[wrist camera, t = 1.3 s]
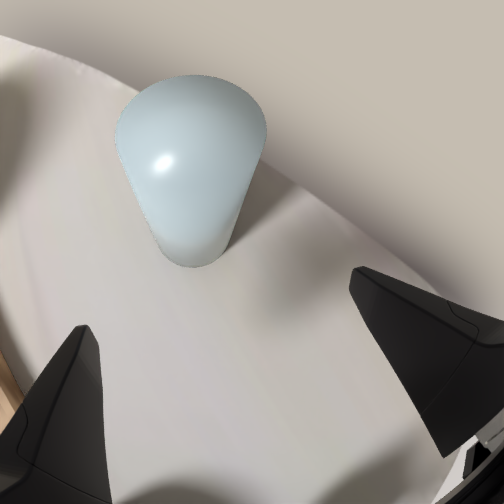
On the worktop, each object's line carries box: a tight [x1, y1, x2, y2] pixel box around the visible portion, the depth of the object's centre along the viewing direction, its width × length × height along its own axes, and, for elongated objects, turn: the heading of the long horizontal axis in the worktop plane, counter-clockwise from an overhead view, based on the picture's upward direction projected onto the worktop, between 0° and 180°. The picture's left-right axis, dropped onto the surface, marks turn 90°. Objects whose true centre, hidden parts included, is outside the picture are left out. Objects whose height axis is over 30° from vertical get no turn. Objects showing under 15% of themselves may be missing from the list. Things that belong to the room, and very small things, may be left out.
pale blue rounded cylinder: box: [115, 75, 267, 268], centre depth 17 cm, size 6×6×13 cm
